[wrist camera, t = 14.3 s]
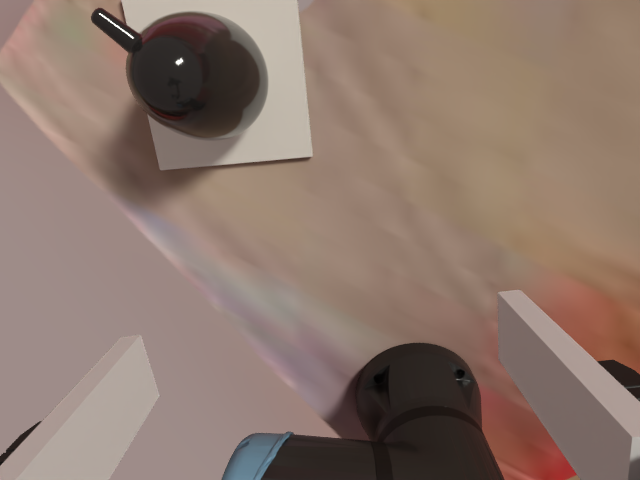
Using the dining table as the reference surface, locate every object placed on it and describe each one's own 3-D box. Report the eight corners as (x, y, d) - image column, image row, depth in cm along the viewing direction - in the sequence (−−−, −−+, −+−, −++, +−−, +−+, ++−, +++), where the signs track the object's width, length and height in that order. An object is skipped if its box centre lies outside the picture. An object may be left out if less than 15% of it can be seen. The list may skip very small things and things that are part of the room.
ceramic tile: (313, 155, 42) (312, 156, 41) (163, 169, 43) (159, 170, 42) (295, -23, 36) (294, -26, 36) (124, -3, 37) (120, -5, 36)
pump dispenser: (209, -6, 36) (128, -73, 22) (296, 77, 38) (274, 65, 24) (146, 84, 39) (39, 77, 25) (231, 156, 41) (177, 189, 27)
